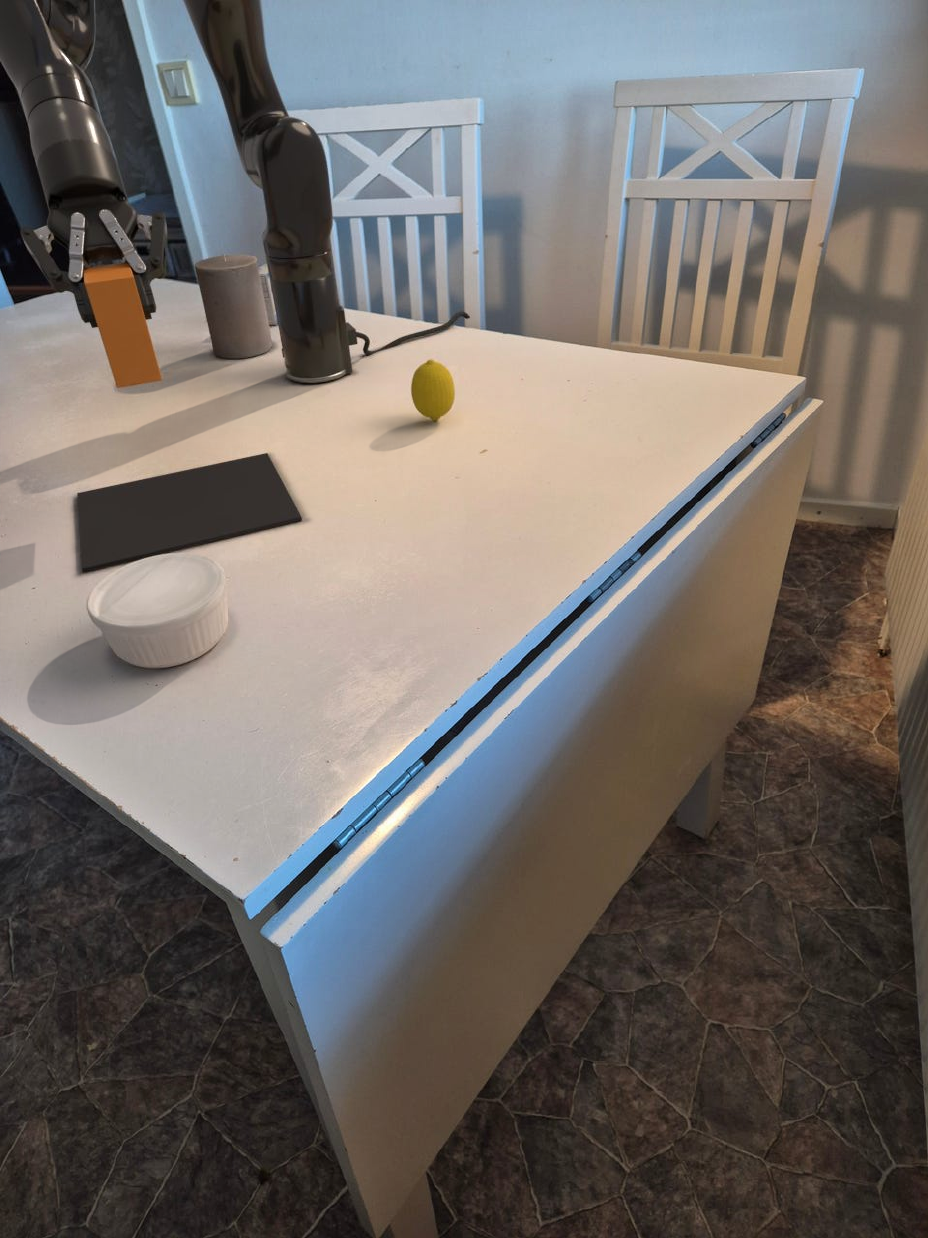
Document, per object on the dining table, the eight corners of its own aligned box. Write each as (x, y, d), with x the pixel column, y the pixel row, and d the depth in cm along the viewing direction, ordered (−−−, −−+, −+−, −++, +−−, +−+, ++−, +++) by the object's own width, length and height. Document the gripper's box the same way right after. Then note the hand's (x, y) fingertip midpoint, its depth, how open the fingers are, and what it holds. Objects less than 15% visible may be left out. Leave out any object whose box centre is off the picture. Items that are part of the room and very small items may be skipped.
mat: (268, 456, 99) (267, 452, 99) (302, 520, 86) (301, 516, 85) (78, 496, 93) (77, 492, 93) (83, 572, 79) (81, 568, 79)
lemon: (463, 415, 106) (459, 354, 102) (445, 431, 102) (440, 369, 98) (426, 410, 108) (420, 350, 104) (406, 426, 104) (400, 364, 100)
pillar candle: (203, 351, 134) (180, 254, 125) (255, 336, 139) (236, 242, 131) (232, 363, 128) (210, 262, 119) (285, 347, 133) (267, 250, 125)
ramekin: (113, 612, 74) (95, 562, 70) (238, 590, 75) (225, 542, 72) (97, 690, 65) (75, 638, 62) (239, 664, 66) (224, 612, 63)
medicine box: (276, 325, 144) (266, 274, 139) (253, 325, 145) (242, 274, 140) (292, 312, 150) (284, 262, 145) (270, 312, 151) (261, 263, 146)
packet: (156, 360, 87) (128, 261, 81) (162, 380, 82) (133, 276, 76) (113, 367, 86) (82, 267, 80) (117, 388, 81) (84, 283, 75)
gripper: (-13, 143, 75) (32, 309, 73) (146, 129, 79) (192, 285, 77) (11, 199, 83) (53, 351, 81) (156, 183, 87) (198, 327, 85)
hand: (121, 318), depth 79 cm, fingers closed on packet, 4 cm apart
